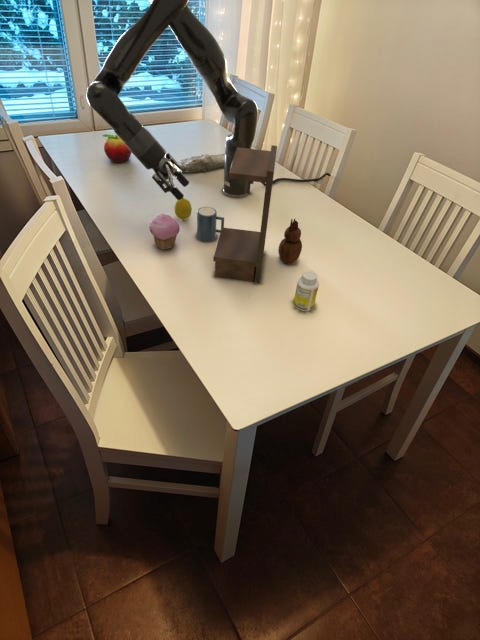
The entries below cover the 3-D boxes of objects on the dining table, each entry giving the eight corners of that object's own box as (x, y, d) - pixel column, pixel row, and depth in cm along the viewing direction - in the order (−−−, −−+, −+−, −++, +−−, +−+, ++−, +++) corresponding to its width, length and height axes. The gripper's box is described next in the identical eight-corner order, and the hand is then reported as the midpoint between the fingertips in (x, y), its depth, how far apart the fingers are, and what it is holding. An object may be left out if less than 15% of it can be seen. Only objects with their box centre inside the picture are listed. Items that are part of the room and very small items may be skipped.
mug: (195, 240, 139) (195, 214, 132) (199, 230, 143) (199, 205, 137) (221, 243, 138) (223, 218, 132) (224, 233, 143) (225, 208, 137)
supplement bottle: (309, 297, 122) (316, 267, 115) (316, 310, 118) (324, 280, 111) (290, 299, 120) (296, 269, 113) (297, 313, 116) (303, 282, 109)
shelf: (212, 277, 125) (216, 164, 103) (220, 246, 137) (226, 140, 115) (259, 283, 125) (273, 171, 102) (263, 252, 137) (277, 145, 114)
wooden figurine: (283, 268, 131) (291, 223, 121) (273, 257, 135) (280, 213, 124) (302, 263, 133) (311, 219, 123) (292, 253, 137) (300, 209, 127)
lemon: (188, 225, 145) (188, 203, 140) (172, 222, 146) (172, 200, 140) (193, 217, 149) (193, 195, 144) (178, 214, 150) (177, 192, 144)
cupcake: (168, 235, 140) (167, 207, 133) (185, 247, 135) (185, 218, 129) (145, 245, 135) (142, 216, 128) (162, 257, 130) (160, 228, 124)
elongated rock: (257, 167, 185) (245, 159, 192) (258, 154, 182) (246, 147, 189) (180, 175, 170) (170, 166, 177) (180, 162, 167) (170, 153, 173)
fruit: (129, 166, 175) (127, 140, 168) (102, 164, 175) (98, 138, 168) (135, 155, 183) (132, 130, 176) (109, 153, 182) (105, 128, 176)
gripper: (148, 150, 117) (189, 196, 125) (160, 130, 127) (197, 174, 135) (129, 166, 120) (170, 209, 128) (143, 145, 131) (180, 187, 139)
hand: (184, 191), depth 132 cm, fingers open, 8 cm apart
